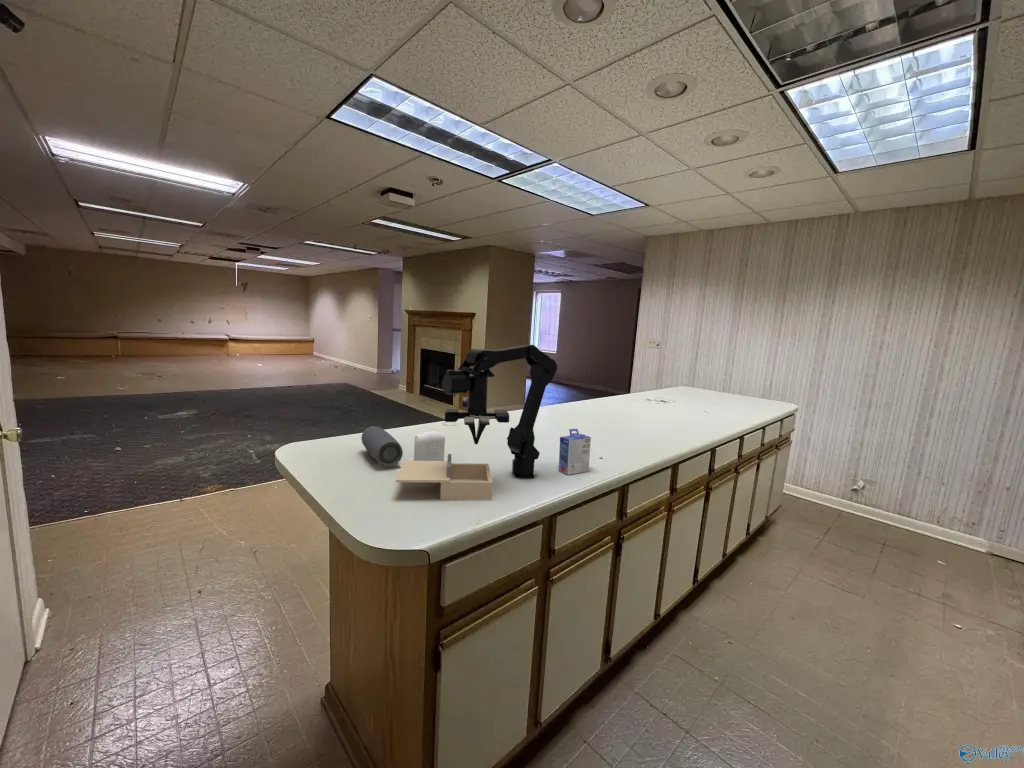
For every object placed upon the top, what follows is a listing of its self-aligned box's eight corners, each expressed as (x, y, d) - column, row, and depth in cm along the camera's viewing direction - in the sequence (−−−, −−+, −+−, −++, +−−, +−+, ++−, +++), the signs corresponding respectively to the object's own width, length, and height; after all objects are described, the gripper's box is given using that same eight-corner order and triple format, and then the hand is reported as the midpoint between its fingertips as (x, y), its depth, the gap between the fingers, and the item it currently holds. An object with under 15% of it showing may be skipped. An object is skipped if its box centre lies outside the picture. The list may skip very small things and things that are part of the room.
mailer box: (487, 478, 131) (488, 463, 130) (491, 499, 115) (492, 482, 114) (442, 478, 129) (443, 463, 128) (440, 499, 113) (440, 482, 112)
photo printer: (440, 463, 143) (441, 428, 141) (445, 467, 139) (447, 431, 138) (411, 468, 137) (412, 431, 135) (416, 472, 133) (417, 434, 132)
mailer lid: (451, 462, 129) (451, 451, 128) (449, 482, 113) (450, 469, 112) (403, 462, 127) (404, 451, 126) (395, 482, 111) (395, 469, 110)
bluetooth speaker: (404, 468, 137) (405, 438, 135) (375, 472, 132) (375, 441, 130) (385, 449, 156) (385, 423, 154) (359, 452, 151) (359, 425, 150)
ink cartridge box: (579, 466, 147) (582, 427, 145) (589, 471, 143) (592, 430, 141) (557, 470, 142) (559, 429, 140) (567, 475, 137) (570, 433, 136)
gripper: (505, 388, 130) (503, 436, 133) (445, 387, 128) (444, 436, 130) (510, 394, 120) (508, 447, 122) (445, 393, 117) (444, 446, 119)
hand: (476, 443), depth 123 cm, fingers closed
